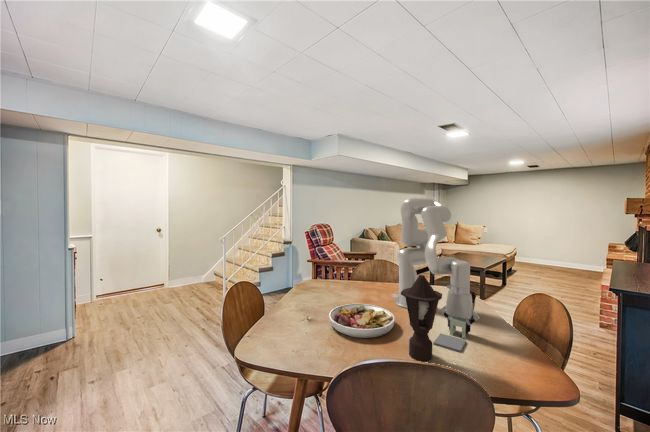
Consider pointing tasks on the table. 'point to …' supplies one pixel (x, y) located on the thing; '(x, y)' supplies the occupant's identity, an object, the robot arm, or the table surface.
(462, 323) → the notched sage block
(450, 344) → the felt pad
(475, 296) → the coffee cup
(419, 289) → the lantern
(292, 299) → the table surface
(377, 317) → the bowl
